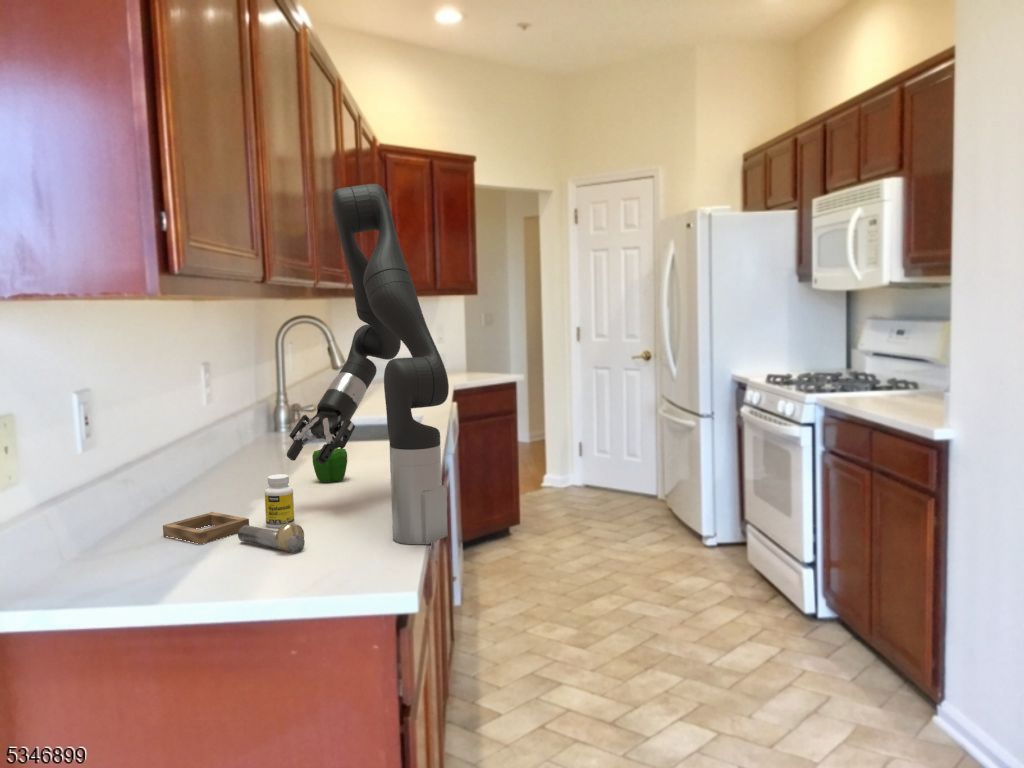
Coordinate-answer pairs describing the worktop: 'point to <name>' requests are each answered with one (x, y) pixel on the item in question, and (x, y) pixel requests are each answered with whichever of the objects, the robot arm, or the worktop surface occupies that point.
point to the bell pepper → (331, 466)
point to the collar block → (222, 528)
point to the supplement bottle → (279, 501)
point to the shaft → (275, 537)
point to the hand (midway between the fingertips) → (304, 460)
